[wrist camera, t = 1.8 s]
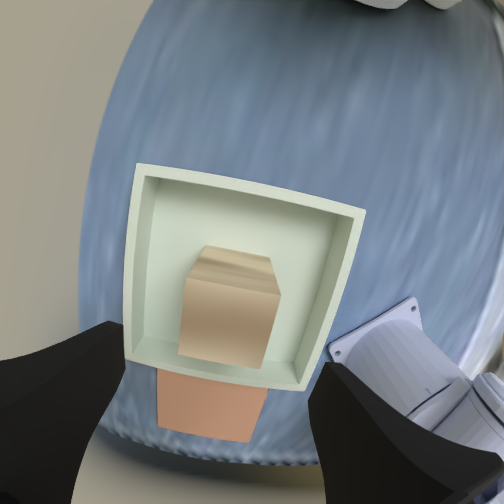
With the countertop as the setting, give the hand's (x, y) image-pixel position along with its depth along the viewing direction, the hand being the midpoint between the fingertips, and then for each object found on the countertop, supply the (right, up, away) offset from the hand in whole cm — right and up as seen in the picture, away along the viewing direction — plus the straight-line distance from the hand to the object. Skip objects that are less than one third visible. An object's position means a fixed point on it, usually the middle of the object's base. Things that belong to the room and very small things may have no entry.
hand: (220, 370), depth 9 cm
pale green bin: (0, +2, +9) cm, 9 cm away
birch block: (0, +2, +9) cm, 9 cm away
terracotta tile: (-3, -9, +12) cm, 15 cm away
